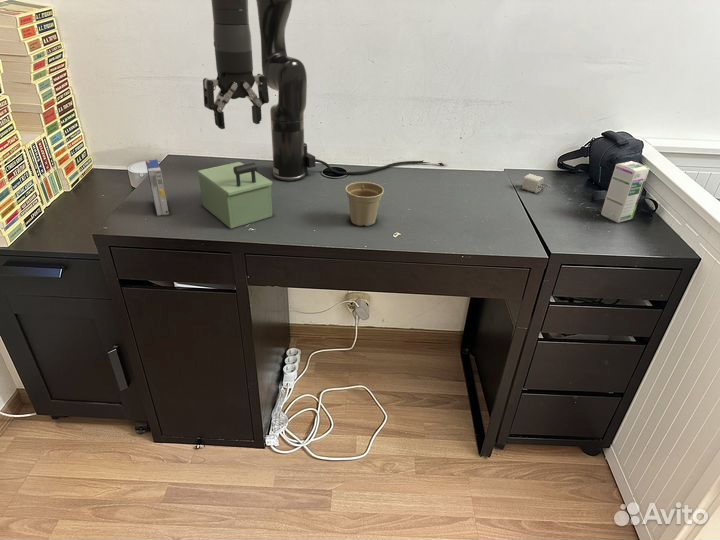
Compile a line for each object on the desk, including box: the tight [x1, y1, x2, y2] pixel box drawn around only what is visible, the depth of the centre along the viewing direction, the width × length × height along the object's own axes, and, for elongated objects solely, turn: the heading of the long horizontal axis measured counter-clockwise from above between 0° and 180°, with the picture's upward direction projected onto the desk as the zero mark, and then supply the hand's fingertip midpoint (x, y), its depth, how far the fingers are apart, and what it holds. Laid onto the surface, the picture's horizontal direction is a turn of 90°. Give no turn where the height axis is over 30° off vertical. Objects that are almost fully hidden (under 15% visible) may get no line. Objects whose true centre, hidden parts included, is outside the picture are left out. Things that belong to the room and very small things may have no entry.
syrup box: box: [600, 160, 651, 224], centre depth 130 cm, size 6×6×14 cm
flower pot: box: [344, 181, 385, 227], centre depth 124 cm, size 9×9×9 cm
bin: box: [197, 173, 273, 229], centre depth 126 cm, size 16×12×9 cm
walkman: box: [145, 159, 170, 216], centre depth 125 cm, size 8×3×12 cm, turn 25°
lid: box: [197, 161, 273, 196], centre depth 122 cm, size 16×12×6 cm
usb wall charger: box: [521, 173, 551, 194], centre depth 146 cm, size 4×7×4 cm, turn 49°
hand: (239, 125), depth 112 cm, fingers open, 8 cm apart
